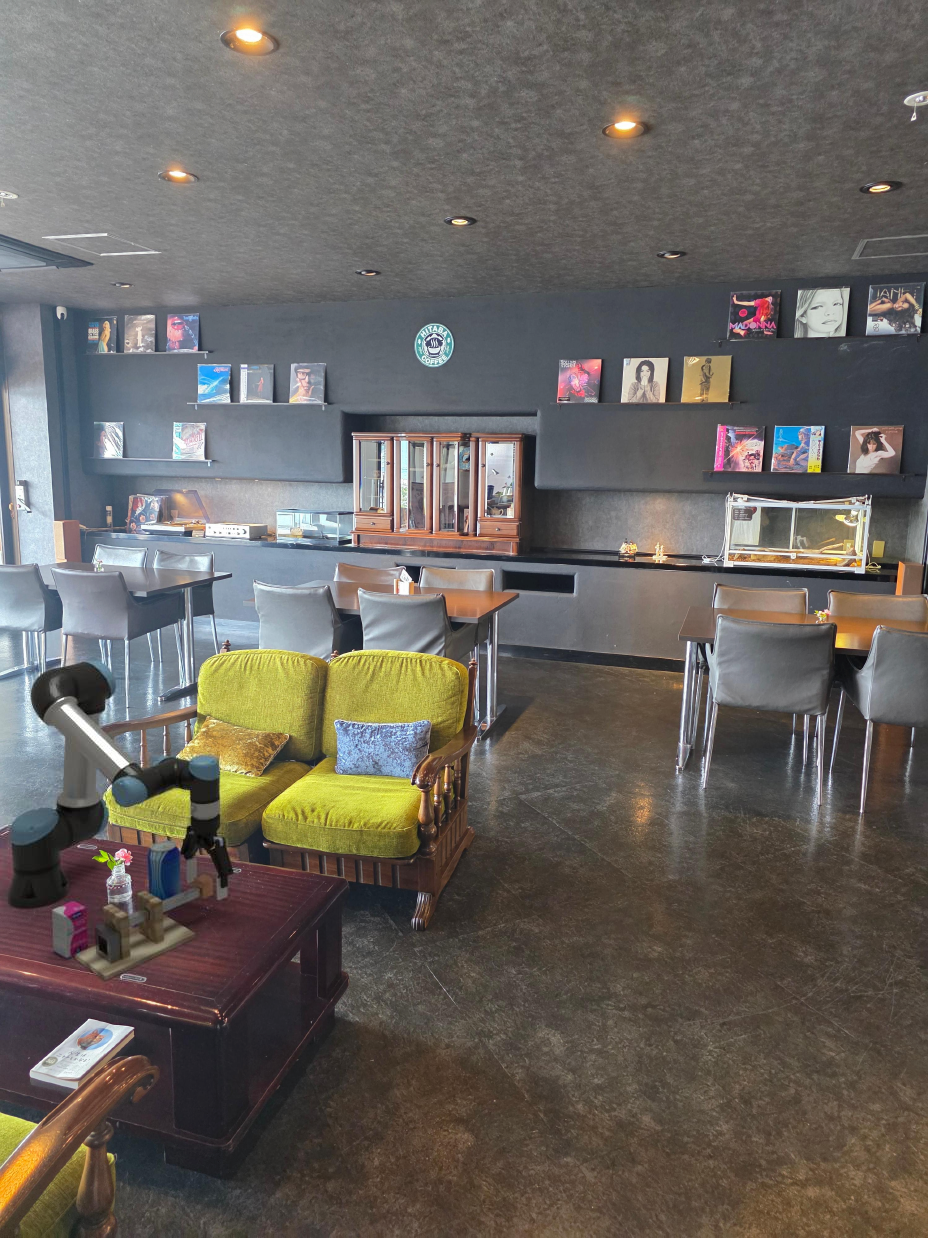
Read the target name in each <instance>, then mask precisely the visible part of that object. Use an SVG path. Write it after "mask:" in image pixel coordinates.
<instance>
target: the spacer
mask: <svg viewBox="0 0 928 1238" xmlns="http://www.w3.org/2000/svg"><path fill="white" fill-rule="evenodd" d="M94 935H95V936H94V939H95V941H94V942H95V943H94V944H95V945H96V954H98V955H99V956H100V957H102V958H103V959H105V960H106V961H108V962H109V963H110V964H112V963H115V962H117V961H119V960H121V955H120V934H119V932H118V931H116V930H115V929H113V928H111V927H110V926H108V925H107V924H105V923H104V922H103V923H101V924H98V925H95V926H94Z"/></svg>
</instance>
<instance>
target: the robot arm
mask: <svg viewBox="0 0 928 1238" xmlns="http://www.w3.org/2000/svg"><path fill="white" fill-rule="evenodd" d="M116 689H117V683H116V678H115V676H114V674H113V672H112V671H111V669H110V667H108V666H107V665H106V664H105V663H103V662H101V661H98V660H91V661H81V662H79V663H74V664H69V665H65V666H60V667H57V668H56V667H55V668H50V669H47V670H45V671H44V672H43V673H41V674H40V675H39V676H38V677H37V678H36V679H35V681H34V682H33V684H32V687H31V690H30V702H31V706H32V708H33V710H34V712H35V714H36V716H37V717H38V719H40V721H42V722H43V723H44V724H45V725H46V726H48V727H54V728H55V729H56V730H57V731H58V732H59V734H61V735H62V736H63V737H64V754H63V755H64V756H63V758H64V760H63V779H62V780H63V781H62V782H63V783H62V784H63V785H62V792H61V793H60V794H59V795H57V797H56V806H55V807H56V808H55V809H54V808H52V807H39V808H37V809H31V810H28V811H26V812H25V811H24V812H23V813H22V814H19V816H17V817H16V818H14V820H13V822H12V823H11V826H10V827H11V828H10V842H11V852H12V855H11V856H12V869H13V874H12V877H11V881H10V884H9V887H8V891H7V901H8V903H9V904H10V905H11V906H12V907H15V908H19V909H33V908H39V907H45V906H48V905H50V904H54V903H55V902H57V901H60V900H62V899H64V898H65V896H67V895H68V893H69V890H70V884H69V883H70V882H69V880H68V877H67V875H66V873H65V871H64V868H63V867H62V863H61V852H62V851H64V850H67V849H70V848H71V847H73V846H76V845H78V844H80V843H83V842H84V841H89V840H91V839H93V838H94V837H96V836H97V835H99V834H101V833H103V831H104V830H105V829H106V827H107V825H108V823H109V818H110V810H109V807H108V806H107V803H106V801H105V799H103V797H102V796H101V794H100V792H99V791H96V787H97V770H98V772H100V773H101V775H103V776H104V777H105V778H106V780H108V782H110V783H111V784H112V785H111V796H112V797H113V798H114V802H115V803H116V804H117V805H118V806H120V807H121V808H130V807H134V806H137V805H140V804H143V803H144V802H146V801H148V800H150V799H152V798H155V797H157V796H160V795H162V794H165V793H168V792H169V791H172V790H174V789H180V790H184V791H188V792H189V801H190V805H189V807H190V809H189V810H190V815H191V816H190V817H189V819H190V820H189V821H190V825H187V826H186V832H185V833H186V834H185V835H184V836H185V837H184V839H183V841H182V842H183V843H182V844H181V848H180V856H182V855H183V857H184V859H185V870H186V871H185V872H186V883H187V884H190V883H192V882H193V883H194V878H196V877H198V876H197V875H198V872H197V870H198V869H197V868H198V867H197V866H198V865H197V857H196V856H197V853H198V851H199V850H200V849H203V850H204V851H205V852H206V854H207V855H209V856H210V858H211V861H212V862H213V863H212V864H213V865H214V867H215V870H216V872H217V875H216V900H218V901H220V900H223V899H224V898H225V899H226V898H227V897H228V886H229V876H231V875H233V874H234V870H233V866H232V865H233V864H232V862H231V859H230V856H229V852H228V849H227V842H226V837H224V836H222V837H219V836H218V831H219V829H220V827H221V814H220V813H221V796H220V794H221V793H220V792H221V791H220V790H221V789H220V787H221V786H220V785H221V770H220V768H221V767H220V762H219V761H220V760H219V759H218V757H216V756H214V755H211V754H208V755H206V754H202V755H196V756H194V757H192V758H190V760H187V759H183V758H179V757H177V756H172V755H171V756H168V755H164V756H159V757H158V758H156V761H154V762H153V763H152V766H150V767H147V768H144V769H143V768H142V767H141V766H140V765H139V764H138V763H137V762H136V761H134V760H133V758H131V757H130V756H129V755H128V754H127V752H125V751H124V750H123V749H122V747H120V746H119V745H118V743H116V742H115V741H114V739H112V738H111V737H110V736H109V735H108V734H107V733H106V732H105V731H104V730H103V729H102V728H101V727H100V715H102V714H103V713H104V712H105V711H106V708H107V707H106V704H107V703H106V702H107V700H109V699H111V698H112V697H113V695H114V694H115V693H116Z"/></svg>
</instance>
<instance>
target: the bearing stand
mask: <svg viewBox="0 0 928 1238" xmlns="http://www.w3.org/2000/svg"><path fill="white" fill-rule="evenodd" d="M144 908H147V909H149V910H150V918H149V919H147V920H145V921H142V922H140V923H138V926H136V927H134V928H132V929H130V927H129V915H130V914H127V913H126V912H125V911H124V910H121V909H120V908H118V907H117V906H115V905H114V904H111V903H110V904H108V905H105V906H103V923H105V924H107V925H108V926H110V927H111V928H113V929H115V930H116V931H118V932H119V934H120V955H121V960H119V961H117V962H115V963H112V964H110V963H109V962H108V961H106V960H105V959H103V958H102V957H100V956H99V955H98V954H96V944H95V945H93V946H91V947H88V949H86V950H84V951H81V952H79V953H77V954H75V956H74V957H75V960H76V961H78V962H80V963H81V964H82V965H83V966H85V967H86V968H88V969H89V970H90V971H91V972H93V973H94V974H96V975H97V976H98V977H100V978H101V979H103V980H104V981H105V982H106V981H108V980H111V979H112V978H114V977H117V976H119V975H120V974H123V973H125V972H127V971H129V970H131V969H133V968H136V967H137V966H140V965H142V964H144V963H146V962H148V961H149V960H150V961H151V960H152V959H154V958H156V957H158V956H160V955H162V954H165V953H166V952H169V951H171V950H173V949H175V948H177V947H180V946H182V945H184V944H186V943H187V942H189V941H192V940H194V939H196V932H194V931H192V930H190V929H189V928H187V927H185V926H184V925H182V924H180V923H178V922H177V921H175V920H174V919H171V918H170V917H168V916H166V915H165V914H164V912H163V901H162V900H160V899H159V898H157V897H155V896H153V895H152V894H150V893H149V891H147V890H143V891H140V892H137V911H140V910H142V909H144Z"/></svg>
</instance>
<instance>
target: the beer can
mask: <svg viewBox="0 0 928 1238" xmlns="http://www.w3.org/2000/svg"><path fill="white" fill-rule="evenodd" d="M180 851H181V849H179V848H178V846H177V842H175V841H172V840H162V841H157V842H155V843H153V844H152V845H151V846H150V850H149V852H148V853H147V875H148V876H147V879H148V893H150V894H152V895H153V896H155V897H157V898H159V899H160V900H162V901H163V900H166V899H168V898H170V897H173V896H175V895H177V894H180V893H182V875H181V874H182V873H181V869H182V868H181V854H180Z"/></svg>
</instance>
